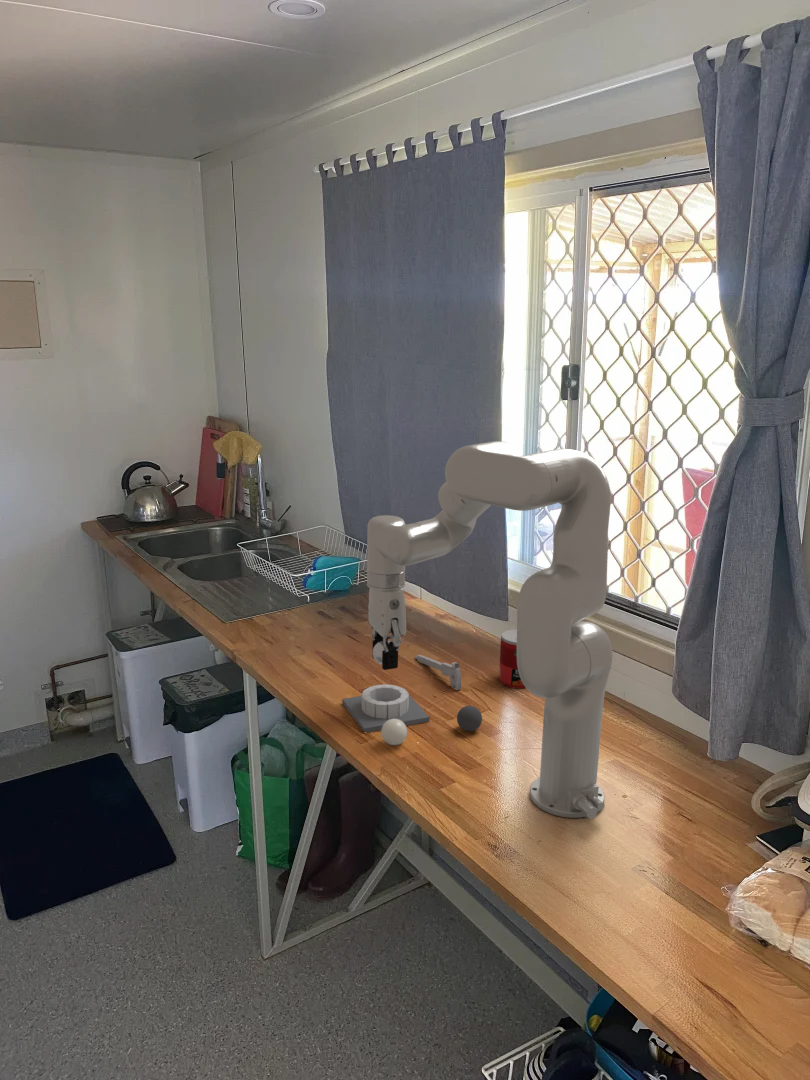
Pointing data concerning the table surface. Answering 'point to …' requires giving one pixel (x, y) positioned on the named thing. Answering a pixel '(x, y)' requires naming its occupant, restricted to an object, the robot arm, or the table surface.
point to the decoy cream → (394, 731)
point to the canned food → (509, 660)
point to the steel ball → (378, 651)
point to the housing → (384, 707)
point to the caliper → (444, 670)
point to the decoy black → (469, 718)
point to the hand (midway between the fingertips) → (384, 662)
